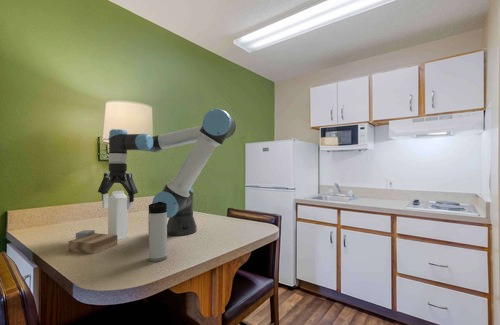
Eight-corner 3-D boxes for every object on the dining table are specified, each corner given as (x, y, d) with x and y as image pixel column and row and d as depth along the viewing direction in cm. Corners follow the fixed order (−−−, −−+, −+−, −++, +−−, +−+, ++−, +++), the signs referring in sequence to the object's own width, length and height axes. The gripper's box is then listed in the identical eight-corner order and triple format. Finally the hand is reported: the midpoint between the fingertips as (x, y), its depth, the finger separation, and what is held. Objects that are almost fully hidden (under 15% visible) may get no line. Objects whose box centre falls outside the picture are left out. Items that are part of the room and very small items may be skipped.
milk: (107, 239, 116) (107, 191, 116) (119, 235, 121) (119, 189, 122) (116, 240, 113) (116, 191, 114) (128, 237, 119) (128, 190, 119)
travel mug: (169, 254, 95) (169, 201, 95) (164, 261, 88) (163, 204, 88) (152, 255, 94) (152, 201, 95) (145, 262, 88) (145, 204, 88)
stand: (117, 244, 108) (117, 235, 108) (93, 253, 96) (93, 243, 96) (94, 242, 111) (94, 233, 111) (68, 251, 99) (68, 241, 99)
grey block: (94, 241, 113) (94, 230, 113) (87, 244, 108) (87, 233, 108) (83, 241, 113) (83, 230, 113) (75, 244, 108) (75, 233, 108)
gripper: (146, 163, 118) (145, 208, 118) (102, 162, 125) (102, 205, 124) (134, 162, 111) (134, 211, 111) (89, 162, 117) (89, 208, 117)
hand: (117, 208), depth 118 cm, fingers open, 13 cm apart
